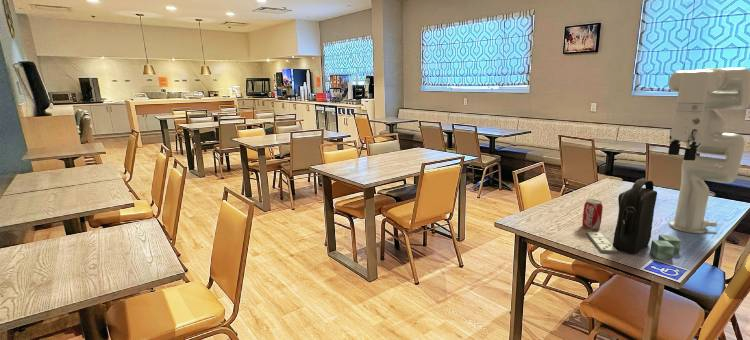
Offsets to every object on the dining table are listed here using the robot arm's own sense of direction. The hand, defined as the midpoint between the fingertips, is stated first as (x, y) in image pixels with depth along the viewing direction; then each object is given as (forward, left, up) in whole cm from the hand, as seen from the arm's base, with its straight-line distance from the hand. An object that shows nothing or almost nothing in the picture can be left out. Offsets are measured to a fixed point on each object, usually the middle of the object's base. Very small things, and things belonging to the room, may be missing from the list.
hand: (680, 157), depth 134 cm
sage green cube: (+2, +3, -36) cm, 37 cm away
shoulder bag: (+10, -3, -37) cm, 39 cm away
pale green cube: (-3, -3, -36) cm, 37 cm away
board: (+20, -5, -36) cm, 42 cm away
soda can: (+18, -22, -37) cm, 46 cm away
